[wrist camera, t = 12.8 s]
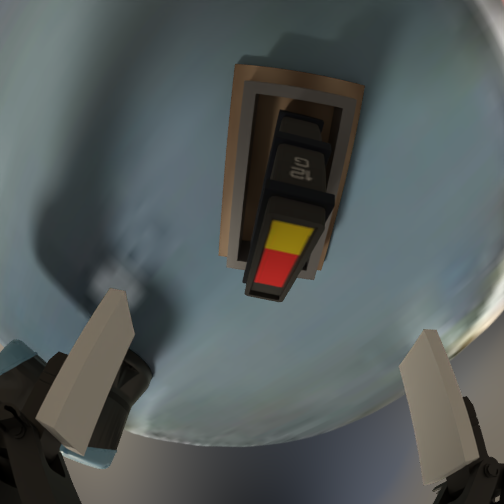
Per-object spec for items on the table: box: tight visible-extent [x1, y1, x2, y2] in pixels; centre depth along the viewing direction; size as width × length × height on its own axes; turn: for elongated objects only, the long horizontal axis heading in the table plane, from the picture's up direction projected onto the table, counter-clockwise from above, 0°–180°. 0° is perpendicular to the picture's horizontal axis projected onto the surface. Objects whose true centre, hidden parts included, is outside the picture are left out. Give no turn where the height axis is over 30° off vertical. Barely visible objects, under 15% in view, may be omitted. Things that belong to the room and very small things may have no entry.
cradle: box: [227, 80, 357, 280], centre depth 27 cm, size 9×18×4 cm, turn 174°
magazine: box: [243, 109, 335, 302], centre depth 24 cm, size 4×13×15 cm, turn 169°
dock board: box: [219, 64, 365, 270], centre depth 29 cm, size 12×21×1 cm, turn 174°
